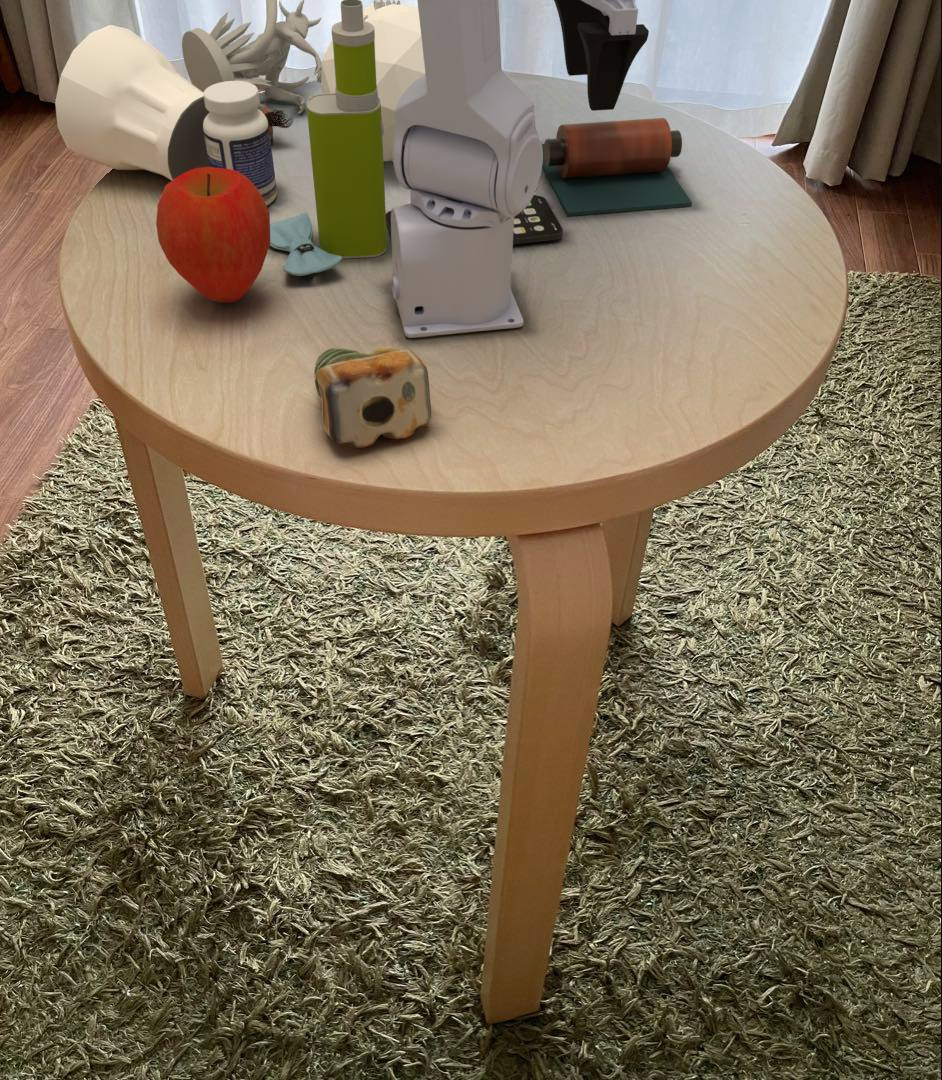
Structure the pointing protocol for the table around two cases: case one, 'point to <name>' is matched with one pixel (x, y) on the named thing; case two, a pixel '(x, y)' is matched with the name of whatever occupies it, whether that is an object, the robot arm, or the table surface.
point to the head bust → (276, 119)
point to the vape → (349, 145)
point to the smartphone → (529, 223)
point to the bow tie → (300, 246)
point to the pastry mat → (616, 192)
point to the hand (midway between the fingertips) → (590, 90)
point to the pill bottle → (239, 134)
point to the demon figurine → (250, 53)
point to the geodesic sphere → (387, 60)
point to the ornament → (372, 394)
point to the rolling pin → (612, 147)
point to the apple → (214, 231)
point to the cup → (130, 107)
